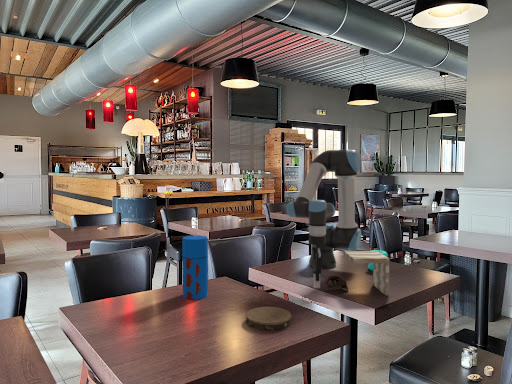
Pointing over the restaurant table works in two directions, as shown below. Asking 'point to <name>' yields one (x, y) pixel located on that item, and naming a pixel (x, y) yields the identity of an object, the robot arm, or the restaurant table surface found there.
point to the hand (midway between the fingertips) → (316, 287)
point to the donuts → (379, 252)
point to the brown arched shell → (336, 283)
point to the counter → (379, 267)
